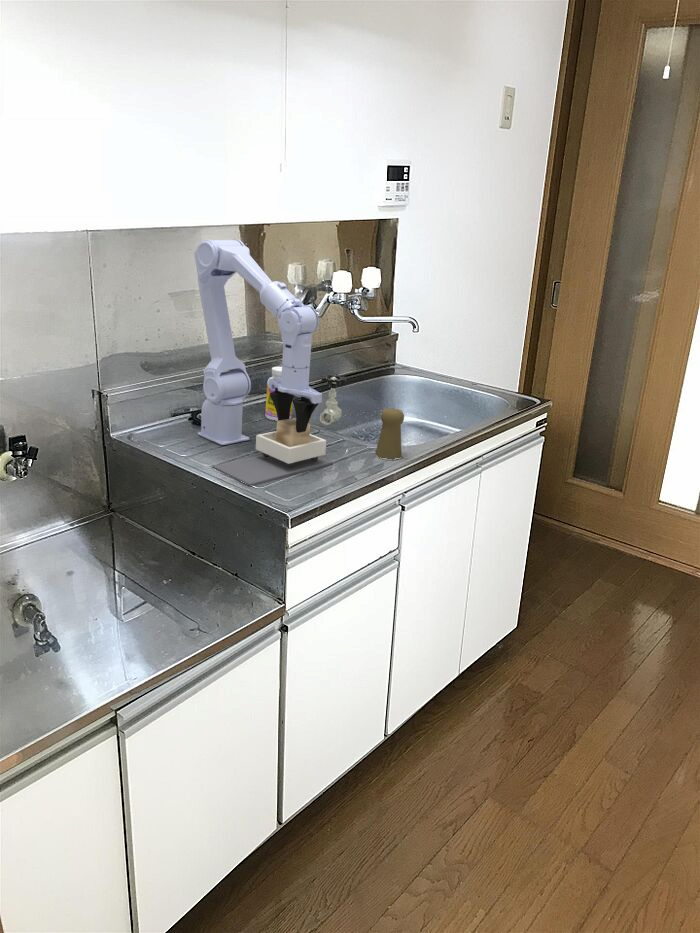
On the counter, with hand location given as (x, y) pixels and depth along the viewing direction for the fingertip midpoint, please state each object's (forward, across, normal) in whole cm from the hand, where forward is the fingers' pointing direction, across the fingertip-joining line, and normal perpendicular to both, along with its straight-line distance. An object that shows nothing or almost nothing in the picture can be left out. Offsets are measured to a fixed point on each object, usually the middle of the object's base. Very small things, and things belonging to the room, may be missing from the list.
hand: (292, 428), depth 165 cm
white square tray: (+8, 0, 0) cm, 8 cm away
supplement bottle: (+8, -26, +20) cm, 34 cm away
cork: (+8, +9, +22) cm, 25 cm away
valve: (+8, -16, +28) cm, 33 cm away
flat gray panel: (+8, 0, -4) cm, 9 cm away
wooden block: (+4, 0, 0) cm, 4 cm away
